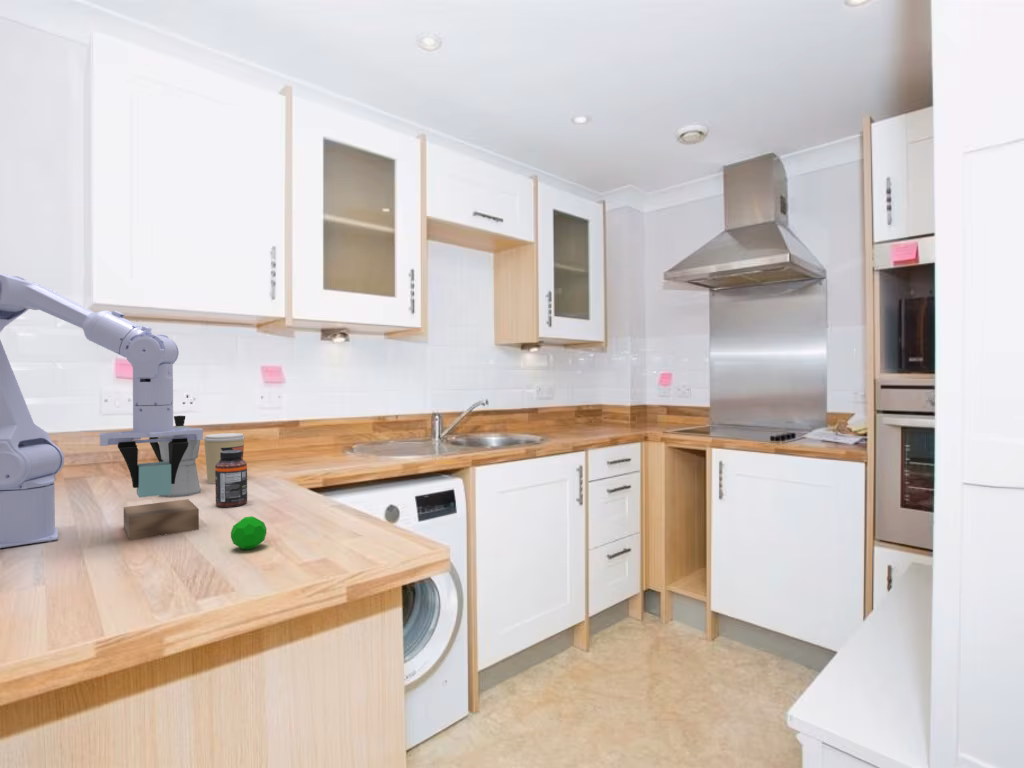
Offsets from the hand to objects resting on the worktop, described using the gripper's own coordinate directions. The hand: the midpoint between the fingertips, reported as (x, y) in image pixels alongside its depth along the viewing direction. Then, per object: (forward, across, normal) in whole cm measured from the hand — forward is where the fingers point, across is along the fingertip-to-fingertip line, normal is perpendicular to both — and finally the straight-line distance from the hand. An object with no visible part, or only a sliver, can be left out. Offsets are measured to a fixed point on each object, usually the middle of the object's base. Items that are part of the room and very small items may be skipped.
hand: (153, 485), depth 93 cm
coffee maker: (+9, +8, +37) cm, 39 cm away
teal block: (+1, 0, 0) cm, 1 cm away
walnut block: (+9, +1, +4) cm, 10 cm away
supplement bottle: (+9, +15, +16) cm, 23 cm away
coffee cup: (+9, +20, +46) cm, 51 cm away
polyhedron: (+9, +11, -18) cm, 23 cm away
